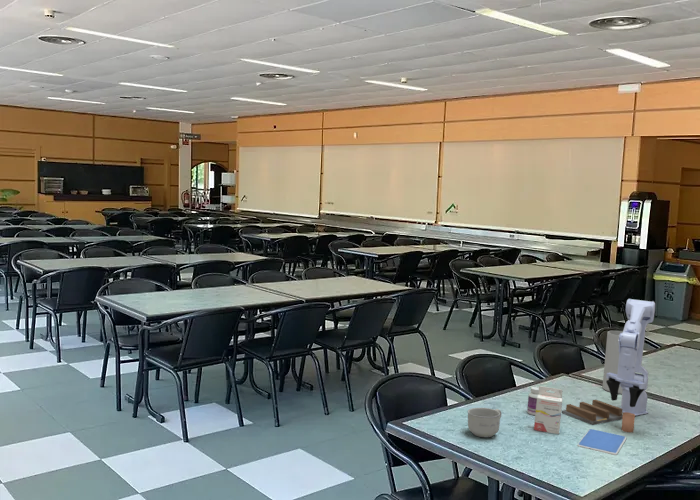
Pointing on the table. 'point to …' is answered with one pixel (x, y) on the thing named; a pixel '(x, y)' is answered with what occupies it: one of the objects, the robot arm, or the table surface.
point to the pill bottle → (532, 400)
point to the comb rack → (594, 412)
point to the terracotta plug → (628, 422)
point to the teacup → (484, 421)
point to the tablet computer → (602, 441)
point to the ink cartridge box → (548, 410)
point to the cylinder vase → (611, 357)
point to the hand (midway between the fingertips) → (623, 403)
